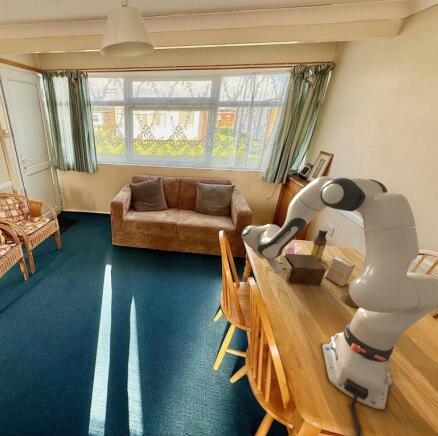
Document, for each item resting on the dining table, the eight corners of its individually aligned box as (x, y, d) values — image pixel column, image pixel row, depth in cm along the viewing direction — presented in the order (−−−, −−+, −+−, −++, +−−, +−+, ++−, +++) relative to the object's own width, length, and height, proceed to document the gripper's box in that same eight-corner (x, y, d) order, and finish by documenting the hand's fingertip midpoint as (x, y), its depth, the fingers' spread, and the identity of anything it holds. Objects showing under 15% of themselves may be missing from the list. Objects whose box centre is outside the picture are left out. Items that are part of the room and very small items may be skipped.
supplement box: (346, 284, 120) (356, 264, 114) (341, 287, 118) (350, 266, 112) (330, 275, 127) (339, 255, 121) (324, 277, 125) (333, 257, 119)
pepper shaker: (362, 307, 105) (372, 289, 101) (347, 305, 107) (356, 287, 102) (354, 298, 111) (363, 280, 106) (340, 296, 112) (348, 278, 107)
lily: (284, 251, 149) (280, 241, 145) (305, 251, 141) (302, 240, 137) (282, 265, 142) (278, 255, 138) (305, 266, 134) (301, 254, 130)
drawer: (277, 280, 122) (281, 267, 118) (269, 267, 132) (273, 254, 128) (312, 283, 119) (318, 269, 116) (302, 269, 130) (307, 256, 126)
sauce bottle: (320, 256, 142) (331, 229, 133) (320, 262, 137) (332, 233, 129) (307, 253, 145) (317, 226, 136) (307, 258, 140) (318, 230, 132)
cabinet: (289, 283, 121) (295, 267, 116) (280, 268, 132) (285, 253, 127) (319, 285, 119) (326, 269, 114) (307, 270, 130) (313, 255, 126)
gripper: (276, 258, 111) (292, 276, 114) (263, 237, 129) (277, 252, 132) (265, 265, 113) (280, 282, 116) (253, 243, 131) (267, 258, 135)
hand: (278, 266), depth 124 cm, fingers closed on drawer, 6 cm apart
